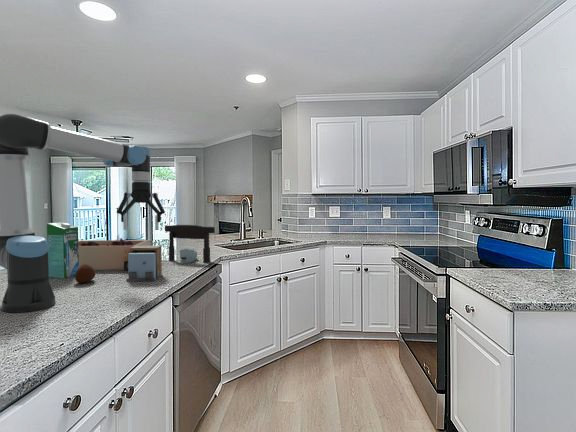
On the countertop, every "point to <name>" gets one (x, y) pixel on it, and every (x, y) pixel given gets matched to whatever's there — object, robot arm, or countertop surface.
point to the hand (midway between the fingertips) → (141, 229)
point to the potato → (84, 274)
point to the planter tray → (105, 254)
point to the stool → (189, 233)
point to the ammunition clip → (126, 259)
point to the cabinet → (158, 263)
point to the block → (142, 264)
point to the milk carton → (62, 249)
